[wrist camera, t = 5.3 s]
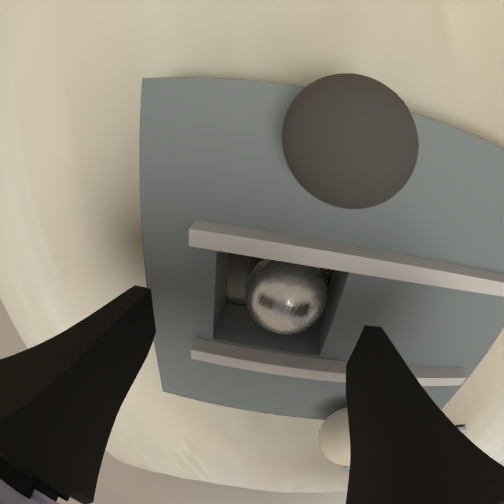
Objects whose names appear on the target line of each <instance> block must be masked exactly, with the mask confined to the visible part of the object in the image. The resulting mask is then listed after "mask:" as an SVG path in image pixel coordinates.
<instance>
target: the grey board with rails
mask: <svg viewBox="0 0 504 504" xmlns="http://www.w3.org/2000/svg"><path fill="white" fill-rule="evenodd" d="M304 88H305V87H299V86H292V85H285V84H277V83H269V82H260V81H249V80H237V79H221V78H194V77H165V78H142V93H141V113H140V201H141V222H142V238H143V251H144V263H145V273H146V283H147V288H149V289H151V294H152V303H153V311H154V319H155V327H156V334H155V336H154V343H155V349H156V355H157V361H158V367H159V372H160V378H161V383H162V388H163V391H164V392H167V393H171V394H175V395H179V396H182V397H186V398H191V399H195V400H199V401H203V402H208V403H212V404H217V405H222V406H227V407H232V408H238V409H243V410H249V411H255V412H262V413H268V414H275V415H283V416H291V417H300V418H310V419H321V420H326V419H327V418H328V417H329V416H330V415H331V414H332V413H334V412H335V411H337V410H339V409H342V408H346V407H347V401H346V364H347V362H348V360H349V358H350V356H351V354H352V352H353V350H354V348H355V346H356V343H357V341H358V339H359V337H360V335H361V332H362V330H363V328H364V326H365V325H368V326H377V327H382V329H383V330H384V332H385V333H386V334H387V336H388V337H389V339H390V340H391V342H392V343H393V345H394V346H395V348H396V349H397V351H398V352H399V354H400V355H401V357H402V358H403V360H404V361H405V363H406V364H407V366H408V367H409V369H410V370H411V372H412V373H413V374H414V376H415V377H416V379H417V380H418V382H419V383H420V384H421V386H422V387H423V388H424V390H425V391H426V392H427V394H428V395H429V396H430V398H431V399H432V400H433V401H434V403H435V404H436V405H437V406H438V407H439V409H440V410H441V409H442V408H443V407H444V406H445V404H446V403H447V402H448V401H449V400H450V399H451V398H452V396H453V395H454V394H455V393H456V392H457V391H458V389H459V388H460V387H461V386H462V385H463V383H464V382H465V381H466V380H467V378H468V377H469V376H470V375H471V373H472V372H473V371H474V369H475V368H476V367H477V365H478V364H479V363H480V361H481V360H482V359H483V357H484V356H485V354H486V353H487V352H488V350H489V349H490V347H491V346H492V344H493V343H494V341H495V340H496V338H497V337H498V335H499V334H500V332H501V331H502V329H503V328H504V149H502V148H500V147H498V146H496V145H494V144H492V143H490V142H487V141H485V140H483V139H481V138H478V137H476V136H474V135H471V134H469V133H466V132H464V131H462V130H459V129H456V128H454V127H451V126H449V125H446V124H443V123H441V122H438V121H435V120H432V119H429V118H426V117H423V116H420V115H417V114H414V113H411V112H410V113H411V115H412V117H413V120H414V122H415V125H416V129H417V133H418V142H419V148H418V157H417V162H416V165H415V168H414V171H413V173H412V175H411V177H410V178H409V180H408V182H407V183H406V184H405V186H404V187H403V188H402V189H401V190H400V191H399V192H398V193H397V194H396V195H395V196H393V197H392V198H390V199H389V200H387V201H385V202H384V203H381V204H379V205H376V206H373V207H369V208H364V209H345V208H339V207H335V206H332V205H329V204H327V203H324V202H322V201H320V200H319V199H317V198H315V197H314V196H312V195H311V194H310V193H308V192H307V191H306V190H305V189H304V188H303V187H302V186H301V185H300V184H299V182H298V181H297V180H296V179H295V177H294V176H293V174H292V173H291V171H290V169H289V167H288V165H287V162H286V159H285V156H284V152H283V146H282V128H283V123H284V119H285V116H286V113H287V111H288V109H289V107H290V105H291V103H292V102H293V100H294V99H295V97H296V96H297V95H298V94H299V93H300V92H301V91H302V90H303V89H304ZM229 253H234V254H240V255H246V256H252V257H258V258H264V259H270V260H276V261H282V262H289V263H295V264H301V265H307V266H313V267H319V268H325V269H332V274H331V277H330V281H329V284H328V288H327V302H326V306H325V308H324V311H323V313H322V314H321V316H320V317H319V319H318V320H317V321H316V322H315V323H314V324H313V325H312V326H310V327H309V328H308V329H306V330H304V331H301V332H299V333H295V334H288V335H285V334H277V333H273V332H270V331H268V330H266V329H264V328H263V327H261V326H260V325H259V324H258V323H257V322H256V321H255V320H254V319H253V317H252V316H251V314H250V312H249V310H248V308H247V306H242V305H237V304H231V303H226V302H225V297H226V284H227V270H228V257H229Z"/></svg>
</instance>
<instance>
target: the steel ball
mask: <svg viewBox="0 0 504 504" xmlns="http://www.w3.org/2000/svg"><path fill="white" fill-rule="evenodd" d="M245 301H246V305H247V308H248V310H249V312H250V314H251V316H252V317H253V319H254V320H255V321H256V322H257V323H258V324H259V325H260V326H261V327H263V328H264V329H266V330H268V331H270V332H273V333H277V334H285V335H288V334H295V333H299V332H301V331H304V330H306V329H308V328H309V327H310V326H312V325H313V324H314V323H315V322H316V321H317V320H318V319H319V317H320V316H321V314H322V313H323V311H324V308H325V306H326V302H327V284H326V281H325V278H324V276H323V274H322V272H321V270H320V269H319V267H313V266H307V265H301V264H295V263H289V262H282V261H276V260H270V259H263V260H261V261H260V262H259V263H258V264H257V265H256V266H255V267H254V268H253V270H252V271H251V273H250V275H249V277H248V279H247V282H246V286H245Z"/></svg>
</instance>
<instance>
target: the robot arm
mask: <svg viewBox="0 0 504 504" xmlns="http://www.w3.org/2000/svg"><path fill="white" fill-rule="evenodd" d="M155 334H156V327H155V319H154V311H153V303H152V294H151V289H149V288H145V287H140V286H136V285H135V286H133V287H132V288H130V289H129V290H127V291H126V292H124V293H123V294H121V295H120V296H118V297H117V298H115V299H114V300H112V301H111V302H109V303H108V304H106V305H105V306H103V307H102V308H100V309H99V310H97V311H96V312H94V313H93V314H91V315H90V316H88V317H87V318H85V319H84V320H82V321H80V322H79V323H77V324H75V325H74V326H72V327H70V328H69V329H67V330H66V331H64V332H62V333H60V334H59V335H57V336H55V337H53V338H51V339H49V340H47V341H45V342H43V343H41V344H39V345H37V346H34V347H32V348H30V349H27V350H25V351H22V352H20V353H17V354H15V355H13V356H9V357H6V358H3V359H0V504H59V503H57V502H56V501H57V498H58V497H60V498H62V499H64V500H66V501H68V500H69V497H71V498H73V499H75V500H77V501H78V502H80V503H82V504H89V503H92V502H93V500H94V494H95V489H96V484H97V479H98V474H99V470H100V466H101V462H102V459H103V455H104V452H105V448H106V445H107V442H108V439H109V436H110V433H111V430H112V427H113V424H114V422H115V419H116V416H117V413H118V411H119V409H120V407H121V405H122V403H123V401H124V399H125V397H126V395H127V393H128V391H129V389H130V387H131V385H132V384H133V382H134V380H135V378H136V376H137V374H138V372H139V370H140V368H141V367H142V365H143V363H144V361H145V359H146V357H147V355H148V352H149V350H150V347H151V345H152V342H153V339H154V336H155ZM346 401H347V412H348V423H349V435H350V466H345V470H347V471H349V483H348V492H347V500H346V504H504V466H502V465H501V464H499V463H498V462H496V461H495V460H493V459H492V458H491V457H489V456H488V455H487V454H486V453H484V452H483V451H482V450H481V449H479V448H478V447H477V446H476V445H475V444H474V443H472V442H471V441H470V440H469V439H468V438H467V437H466V436H465V435H464V433H465V432H466V431H467V428H466V427H456V426H455V425H454V424H453V423H452V422H451V421H450V420H449V419H448V418H447V417H446V415H445V414H444V413H443V412H442V411H441V410H440V409H439V407H438V406H437V405H436V404H435V403H434V401H433V400H432V399H431V398H430V396H429V395H428V394H427V392H426V391H425V390H424V388H423V387H422V386H421V384H420V383H419V382H418V380H417V379H416V377H415V376H414V374H413V373H412V372H411V370H410V369H409V367H408V366H407V364H406V363H405V361H404V360H403V358H402V357H401V355H400V354H399V352H398V351H397V349H396V348H395V346H394V345H393V343H392V342H391V340H390V339H389V337H388V336H387V334H386V333H385V332H384V330H383V329H382V327H377V326H368V325H365V326H364V328H363V330H362V332H361V335H360V337H359V339H358V341H357V343H356V346H355V348H354V350H353V352H352V354H351V356H350V358H349V360H348V362H347V364H346Z"/></svg>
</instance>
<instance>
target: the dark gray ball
mask: <svg viewBox="0 0 504 504" xmlns="http://www.w3.org/2000/svg"><path fill="white" fill-rule="evenodd" d="M282 146H283V152H284V156H285V159H286V162H287V165H288V167H289V169H290V171H291V173H292V174H293V176H294V177H295V179H296V180H297V181H298V182H299V184H300V185H301V186H302V187H303V188H304V189H305V190H306V191H307V192H308V193H310V194H311V195H312V196H314V197H315V198H317V199H319V200H320V201H322V202H324V203H327V204H329V205H332V206H335V207H339V208H345V209H364V208H369V207H373V206H376V205H379V204H381V203H384V202H385V201H387V200H389V199H390V198H392V197H393V196H395V195H396V194H397V193H398V192H399V191H400V190H401V189H402V188H403V187H404V186H405V184H406V183H407V182H408V180H409V178H410V177H411V175H412V173H413V171H414V168H415V165H416V162H417V157H418V148H419V142H418V133H417V129H416V125H415V122H414V120H413V117H412V115H411V113H410V111H409V109H408V108H407V106H406V105H405V103H404V102H403V101H402V100H401V98H400V97H399V96H398V95H397V94H396V93H395V92H393V91H392V90H391V89H390V88H389V87H387V86H386V85H384V84H382V83H381V82H379V81H377V80H375V79H373V78H370V77H367V76H363V75H358V74H334V75H330V76H326V77H323V78H321V79H318V80H316V81H315V82H313V83H311V84H309V85H308V86H307V87H306V88H304V89H303V90H302V91H301V92H300V93H299V94H298V95H297V96H296V97H295V99H294V100H293V102H292V103H291V105H290V107H289V109H288V111H287V113H286V116H285V119H284V123H283V128H282Z"/></svg>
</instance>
